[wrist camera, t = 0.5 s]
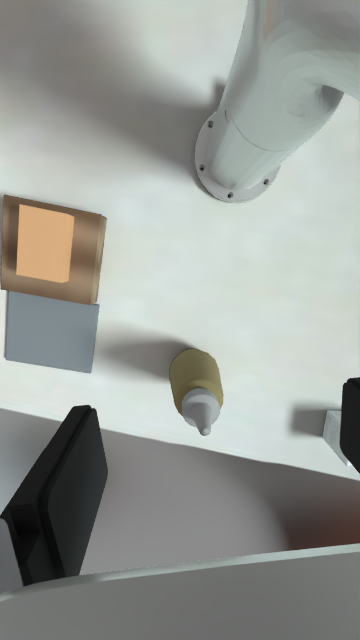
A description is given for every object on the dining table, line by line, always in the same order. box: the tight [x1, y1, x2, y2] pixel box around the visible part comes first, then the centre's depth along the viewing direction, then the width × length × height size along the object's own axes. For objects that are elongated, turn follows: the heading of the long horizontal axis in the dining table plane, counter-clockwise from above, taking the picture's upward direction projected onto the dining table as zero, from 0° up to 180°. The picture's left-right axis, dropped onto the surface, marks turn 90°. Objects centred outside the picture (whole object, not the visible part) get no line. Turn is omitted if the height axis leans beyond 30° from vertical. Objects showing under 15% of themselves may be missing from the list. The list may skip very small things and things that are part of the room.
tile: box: [16, 204, 74, 283], centre depth 36 cm, size 9×6×2 cm, turn 169°
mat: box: [6, 291, 99, 373], centre depth 43 cm, size 12×14×1 cm
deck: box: [1, 195, 107, 305], centre depth 39 cm, size 13×13×4 cm
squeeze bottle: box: [169, 349, 223, 436], centre depth 37 cm, size 8×8×18 cm
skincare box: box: [322, 410, 353, 466], centre depth 46 cm, size 6×6×7 cm
